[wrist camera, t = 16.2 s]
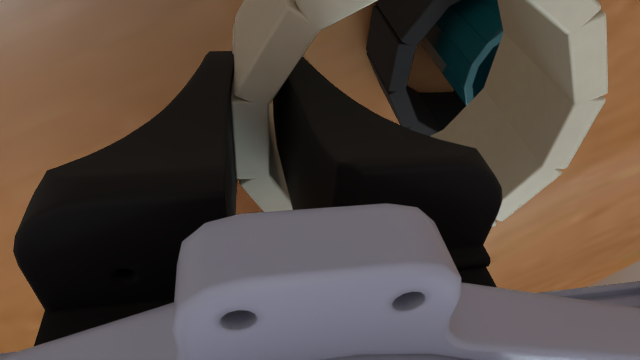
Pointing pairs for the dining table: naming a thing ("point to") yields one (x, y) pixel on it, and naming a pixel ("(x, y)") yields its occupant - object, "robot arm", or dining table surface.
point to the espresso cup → (466, 44)
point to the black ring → (408, 62)
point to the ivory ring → (471, 123)
